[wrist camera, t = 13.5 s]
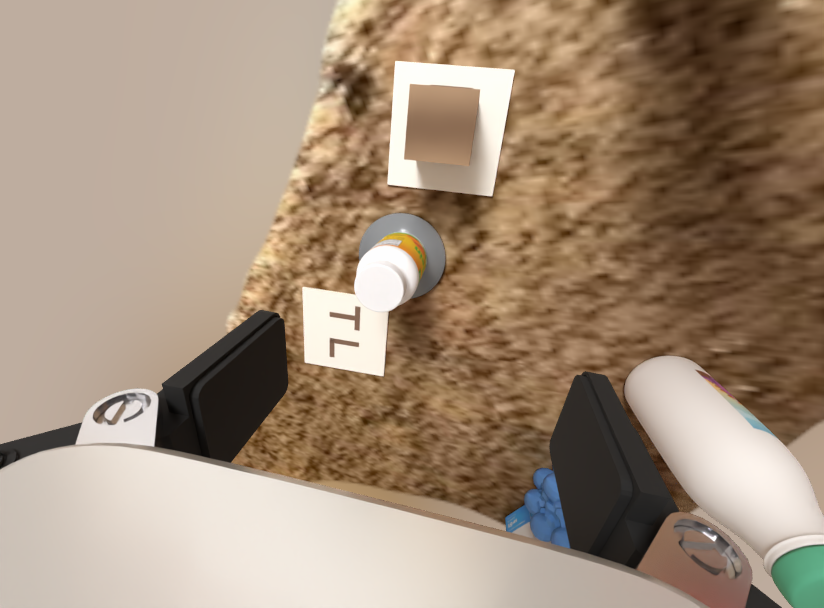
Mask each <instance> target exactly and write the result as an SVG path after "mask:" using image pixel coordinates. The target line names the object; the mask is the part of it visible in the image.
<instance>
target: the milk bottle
mask: <svg viewBox="0 0 824 608" xmlns="http://www.w3.org/2000/svg"><path fill="white" fill-rule="evenodd" d="M624 393H625V398H626V400H627V402H628V404H629V406H630V407H631V409H632V411H633V412H634V414H635V415H636V417H637V419H638V420H639V422H640V423H641V425H642V427H643V428H644V430H645V431H646V433H647V434H648V436H649V438H650V439H651V441H652V442H653V444H654V445H655V447H656V448H657V450H658V452H659V453H660V455H661V456H662V458H663V459H664V461H665V462H666V464H667V465H668V467H669V469H670V470H671V471H672V473H673V474H674V476H675V477H676V479H677V480H678V482H679V483H680V484H681V486H682V487H683V489H684V490H685V491H686V492H687V494H688V495H689V496H690V497H691V498H692V500H693V501H694V502H695V503H696V504H697V505H698V506H699V507H700V508H701V509H703V510H704V511H705V512H706V513H707V514H708V515H709V516H711V517H712V518H713V519H715V520H716V521H717V522H719V523H720V524H722V525H723V526H725V527H726V528H727V529H729V530H730V531H732V532H733V533H734V534H736V535H737V536H738V537H740V538H741V539H742V540H743V541H744V542H746V543H747V544H748V545H749V546H750V547H751V548H752V549H753V550H754V551H755V552H756V553H757V554H758V555H759V556H760V557H761V558H762V559H763V566H764V569H765V571H766V572H767V573H768V574H769V575H770V576H771V577H772V578H773V581H774V583H775V584H776V586H777V587H778V589H779V591H780V592H781V593H782V595H783V596H784V597H785V599H786V600H787V601H788V603H789V604H790V605H791V606H792V607H793V608H824V515H823V513H822V512H821V509H820V507H819V504H818V502H817V499H816V496H815V493H814V490H813V488H812V485H811V483H810V480H809V478H808V476H807V475H806V473H805V471H804V469H803V468H802V466H801V465H800V463H799V462H798V460H797V459H796V458H795V457H794V456H793V454H792V453H791V452H790V451H789V450H788V448H787V447H786V446H785V445H784V444H783V443H782V442H781V441H780V440H779V439H778V438H777V437H776V436H775V435H774V434H773V433H772V432H771V431H770V430H769V429H768V428H766V427H765V426H764V425H763V424H762V423H761V422H760V421H759V420H758V419H757V418H756V417H755V416H754V415H753V414H751V413H750V412H749V411H748V410H747V409H746V408H745V407H744V406H743V405H742V404H741V403H740V402H739V401H737V400H736V399H735V398H734V397H733V396H732V395H731V394H730V393H729V392H728V391H727V390H725V389H724V388H723V387H722V386H721V385H720V384H719V383H718V382H717V381H716V380H715V379H713V378H712V377H711V376H710V375H709V374H708V373H707V372H706V371H705V370H704V369H702V368H701V367H700V366H699V365H698V364H696V363H695V362H693V361H691V360H689V359H686V358H683V357H678V356H658V357H655V358H651V359H649V360H646V361H644V362H642V363H641V364H639V365H638V366H636V367H635V368H634V369H633V370H632V371H631V373H630V374H629V375H628V377H627V379H626V382H625V387H624Z"/></svg>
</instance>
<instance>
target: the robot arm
mask: <svg viewBox="0 0 824 608" xmlns="http://www.w3.org/2000/svg"><path fill="white" fill-rule="evenodd" d="M162 387H163V389H162V390H161V391H160V392H159V393H157V394H156V393H154V392H153V391H151V390H147V389H129V390H125V391H121V392H117V393H114V394H112V395H109V396H107V397H105V398H103V399H102V400H100V401H99V402H97V403H95V404H94V405H93V406H92V407H91V408H90V409H89V410H88V411H87V413H86V415H85V416H84V419H83V422H82V423H78V424H75V425H71V426H68V427H64V428H60V429H56V430H52V431H48V432H45V433H41V434H38V435H33V436H30V437H26V438H23V439H19V440H15V441H11V442H7V443H4V444H0V608H782V607H780V606H779V605H778V604H776V603H775V602H774V601H773V600H771V599H770V598H769V597H768V596H766V595H765V594H764V593H762V592H761V591H760V590H759V589H758V588H756V587H755V586H754V585H752V584H751V583H752V569H751V567H750V564H749V562H748V559H747V558H746V556H745V555H744V553H743V552H742V551H741V549H740V548H739V546H738V545H737V544H736V543H735V542H734V541H733V540H732V539H731V538H730V537H729V536H728V535H727V534H725V533H724V532H723V531H722V530H720V529H719V528H718V527H716V526H715V525H713V524H712V523H710V522H708V521H706V520H705V519H703V518H701V517H698V516H696V515H693V514H691V513H685V512H679V510H678V508H677V506H676V504H675V502H674V500H673V498H672V497H671V495H670V493H669V491H668V489H667V487H666V485H665V483H664V481H663V479H662V478H661V476H660V474H659V472H658V470H657V468H656V466H655V464H654V462H653V460H652V459H651V457H650V455H649V453H648V451H647V449H646V447H645V445H644V443H643V441H642V440H641V438H640V436H639V434H638V432H637V431H636V429H635V428H634V427H633V426H632V424H631V422H630V420H629V418H628V416H627V414H626V412H625V410H624V409H623V407H622V405H621V403H620V401H619V399H618V397H617V395H616V393H615V391H614V389H613V387H612V385H611V383H610V382H609V380H608V378H607V376H605V375H601V374H596V373H591V372H586V371H585V372H583V373H582V375H576V376H575V378H574V380H573V383H572V385H571V388H570V390H569V393H568V396H567V398H566V401H565V403H564V406H563V409H562V411H561V414H560V416H559V419H558V422H557V424H556V427H555V429H554V432H553V435H552V437H551V440H550V455H551V460H552V464H553V469H554V474H555V479H556V483H557V488H558V493H559V498H560V502H561V507H562V512H563V517H564V521H565V526H566V531H567V536H568V540H569V545H570V548H566V547H562V546H559V545H555V544H551V543H548V542H544V541H540V540H537V539H533V538H529V537H526V536H522V535H518V534H514V533H510V532H506V531H502V530H499V529H494V528H490V527H487V526H483V525H479V524H475V523H471V522H467V521H463V520H459V519H455V518H452V517H447V516H444V515H440V514H436V513H431V512H428V511H424V510H420V509H416V508H412V507H408V506H404V505H400V504H396V503H392V502H388V501H384V500H380V499H376V498H372V497H368V496H364V495H360V494H356V493H352V492H348V491H344V490H340V489H336V488H332V487H328V486H324V485H320V484H316V483H312V482H307V481H303V480H299V479H295V478H291V477H287V476H283V475H279V474H275V473H270V472H266V471H262V470H258V469H254V468H250V467H246V466H242V465H237V464H233V463H231V462H232V460H233V459H234V458H235V456H236V455H237V454H238V453H239V451H240V450H241V449H242V448H243V446H244V445H245V444H246V442H247V441H248V440H249V439H250V437H251V436H252V435H253V434H254V432H255V431H256V430H257V428H258V427H259V426H260V425H261V423H262V422H263V421H264V420H265V418H266V417H267V416H268V414H269V413H270V412H271V411H272V409H273V408H274V407H275V406H276V404H277V403H278V402H279V400H280V399H281V398H282V397H283V395H284V394H285V392H286V390H287V387H288V372H287V356H286V341H285V325H284V320H283V319H282V318H280V316H279V314H278V313H274V312H269V311H264V310H259V311H258V312H256V313H255V314H254V315H252V316H251V317H250V318H248V319H247V320H246V321H244V322H243V323H242V324H240V325H239V326H238V327H236V328H235V329H234V330H232V331H231V332H230V333H228V334H227V335H226V336H225V337H224V338H222V339H221V340H219V341H218V342H217V343H215V344H214V345H213V346H211V347H210V348H209V349H207V350H206V351H205V352H204V353H202V354H201V355H199V356H198V357H197V358H195V359H194V360H193V361H192V362H190V363H189V364H188V365H186V366H185V367H184V368H182V369H181V370H180V371H178V372H177V373H176V374H174V375H173V376H172V377H170V378H169V379H168V380H166V381H165V382H164V383H162Z"/></svg>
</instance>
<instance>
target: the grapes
mask: <svg viewBox="0 0 824 608" xmlns="http://www.w3.org/2000/svg"><path fill="white" fill-rule="evenodd" d="M552 467H553V465H552ZM533 481H534V484H535V486H536V487H537V488H538V489H531V490H529V491H528V492H527V493H526V494H525V497H524V502H525V506H526V508H527V509H528V511H529V512H530V513H532V514H534V515H533V516H532V517H531V519H530V528H531V531H532V532H533V534H534V536H535V537H536V538H537V539H539V540H540V541H544V542H550V541H551V544H555V545H559V546H562V547H566V548H570V545H569V540H568V536H567V531H566V526H565V521H564V517H563V512H562V507H561V502H560V498H559V493H558V488H557V483H556V479H555V474H554V469H553V471H552V470H550V469H548V468H540V469H537V470H536V472H535V473H534V476H533Z"/></svg>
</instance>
